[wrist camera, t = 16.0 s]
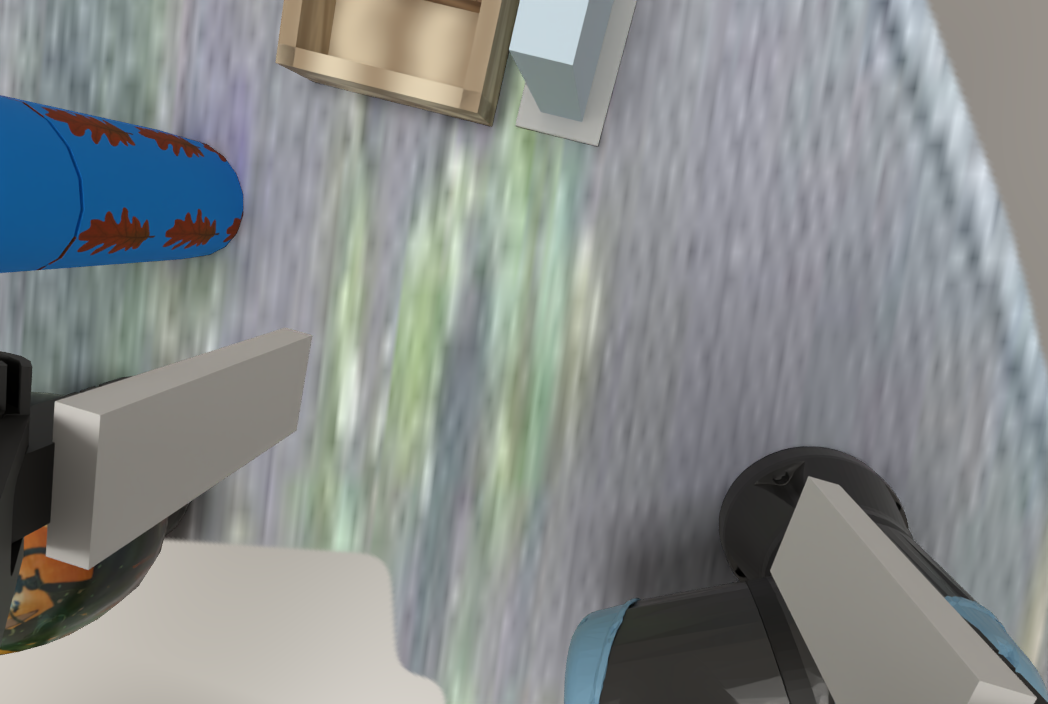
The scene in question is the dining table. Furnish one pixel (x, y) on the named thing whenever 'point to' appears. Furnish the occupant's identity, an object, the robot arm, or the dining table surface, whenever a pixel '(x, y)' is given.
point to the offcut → (461, 4)
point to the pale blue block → (559, 51)
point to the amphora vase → (74, 583)
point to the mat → (599, 91)
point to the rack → (403, 51)
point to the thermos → (106, 192)
